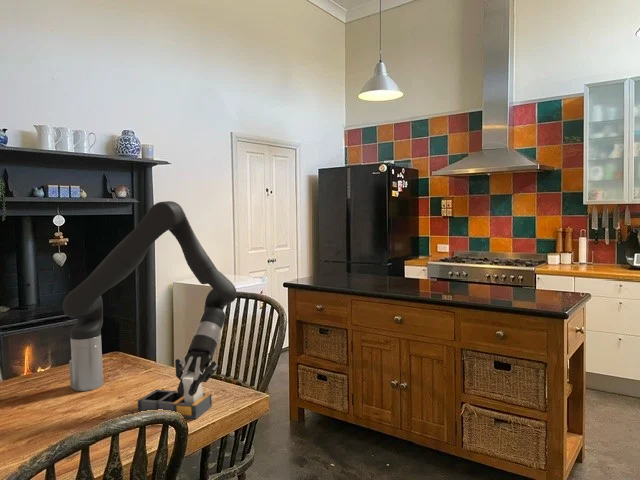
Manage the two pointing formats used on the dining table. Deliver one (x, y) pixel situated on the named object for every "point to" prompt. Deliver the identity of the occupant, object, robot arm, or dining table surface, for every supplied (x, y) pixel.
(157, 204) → the robot arm
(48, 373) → the dining table surface
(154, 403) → the slot rack
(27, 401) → the dining table surface
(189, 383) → the white rectangular block
